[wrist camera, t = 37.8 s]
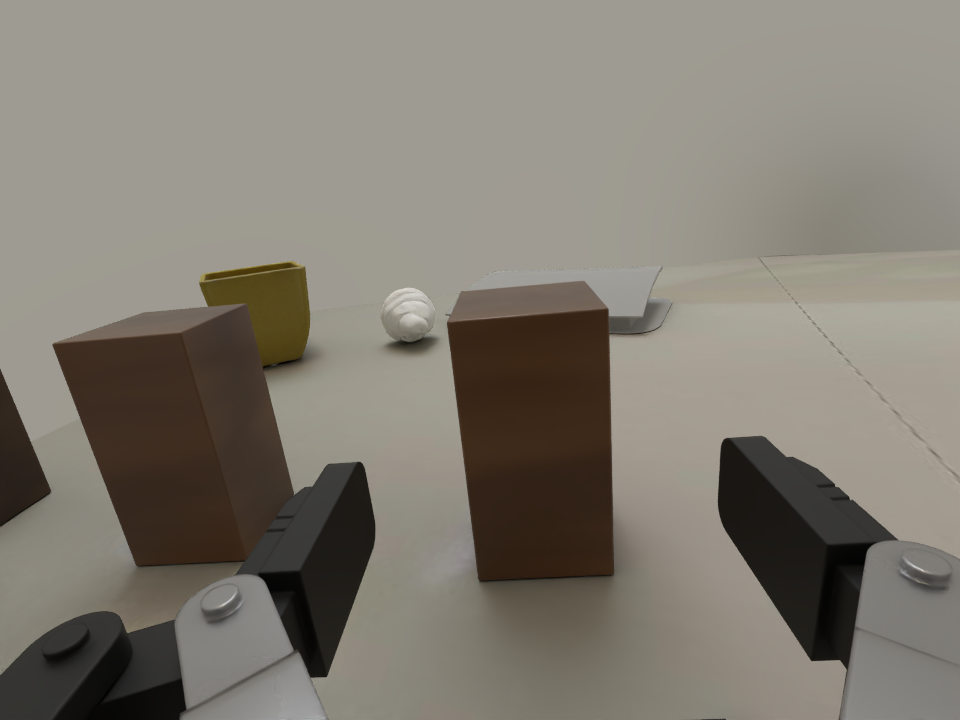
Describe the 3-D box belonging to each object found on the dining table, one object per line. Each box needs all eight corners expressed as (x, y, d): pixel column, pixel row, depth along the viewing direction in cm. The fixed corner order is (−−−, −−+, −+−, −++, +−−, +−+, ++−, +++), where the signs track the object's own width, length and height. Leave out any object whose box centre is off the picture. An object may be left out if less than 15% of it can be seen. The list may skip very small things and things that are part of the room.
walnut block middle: (247, 561, 21) (180, 332, 18) (135, 566, 22) (51, 343, 19) (294, 493, 26) (247, 302, 23) (202, 499, 26) (143, 312, 23)
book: (494, 298, 69) (491, 269, 68) (674, 297, 59) (675, 263, 57) (437, 328, 56) (432, 293, 55) (656, 334, 46) (656, 291, 45)
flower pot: (224, 359, 53) (200, 272, 50) (310, 341, 56) (292, 259, 53) (225, 382, 45) (198, 281, 42) (325, 360, 49) (305, 265, 46)
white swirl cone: (394, 357, 47) (385, 299, 45) (383, 342, 53) (374, 290, 51) (450, 346, 49) (443, 290, 47) (433, 333, 54) (427, 282, 53)
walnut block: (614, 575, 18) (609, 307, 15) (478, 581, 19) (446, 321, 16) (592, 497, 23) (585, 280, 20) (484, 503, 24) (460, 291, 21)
